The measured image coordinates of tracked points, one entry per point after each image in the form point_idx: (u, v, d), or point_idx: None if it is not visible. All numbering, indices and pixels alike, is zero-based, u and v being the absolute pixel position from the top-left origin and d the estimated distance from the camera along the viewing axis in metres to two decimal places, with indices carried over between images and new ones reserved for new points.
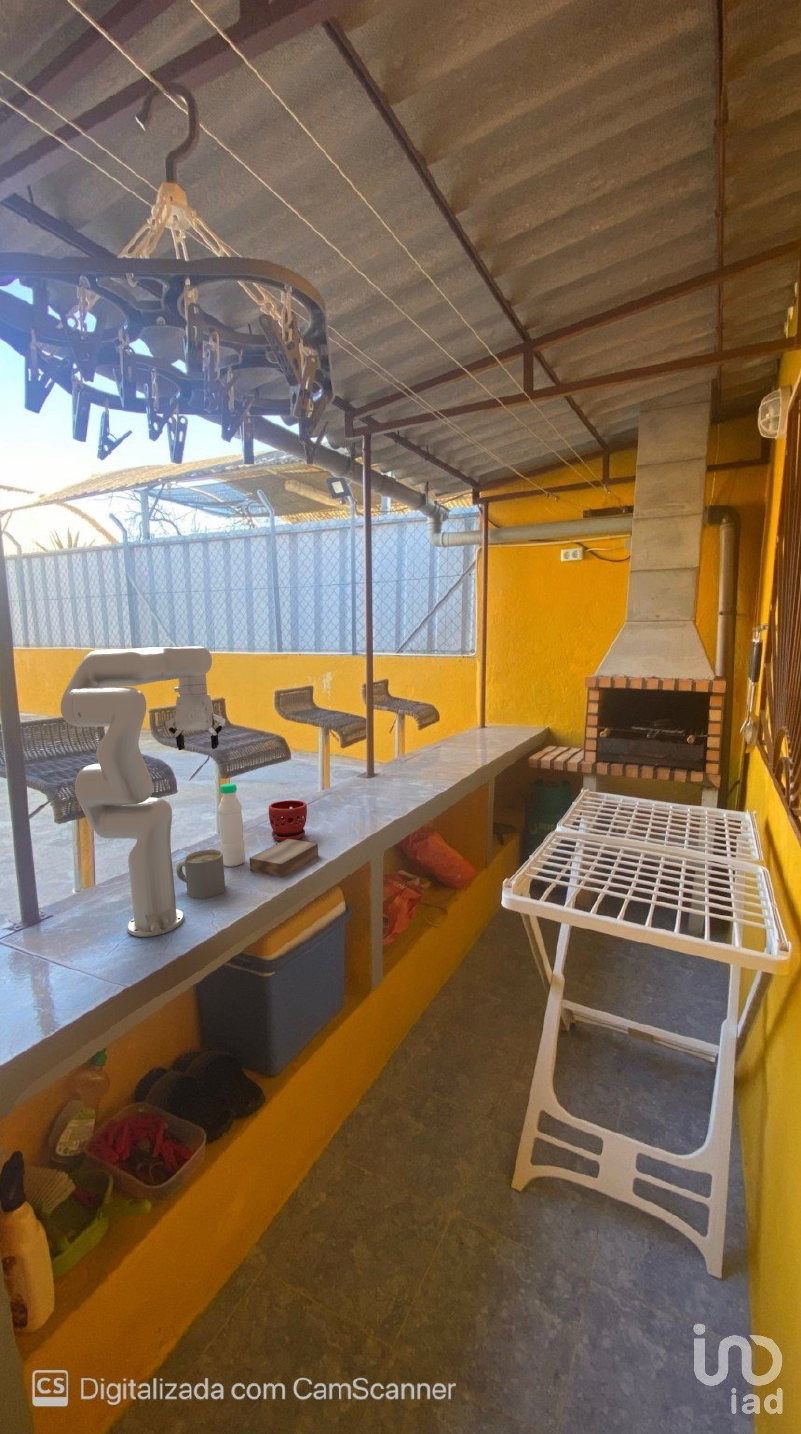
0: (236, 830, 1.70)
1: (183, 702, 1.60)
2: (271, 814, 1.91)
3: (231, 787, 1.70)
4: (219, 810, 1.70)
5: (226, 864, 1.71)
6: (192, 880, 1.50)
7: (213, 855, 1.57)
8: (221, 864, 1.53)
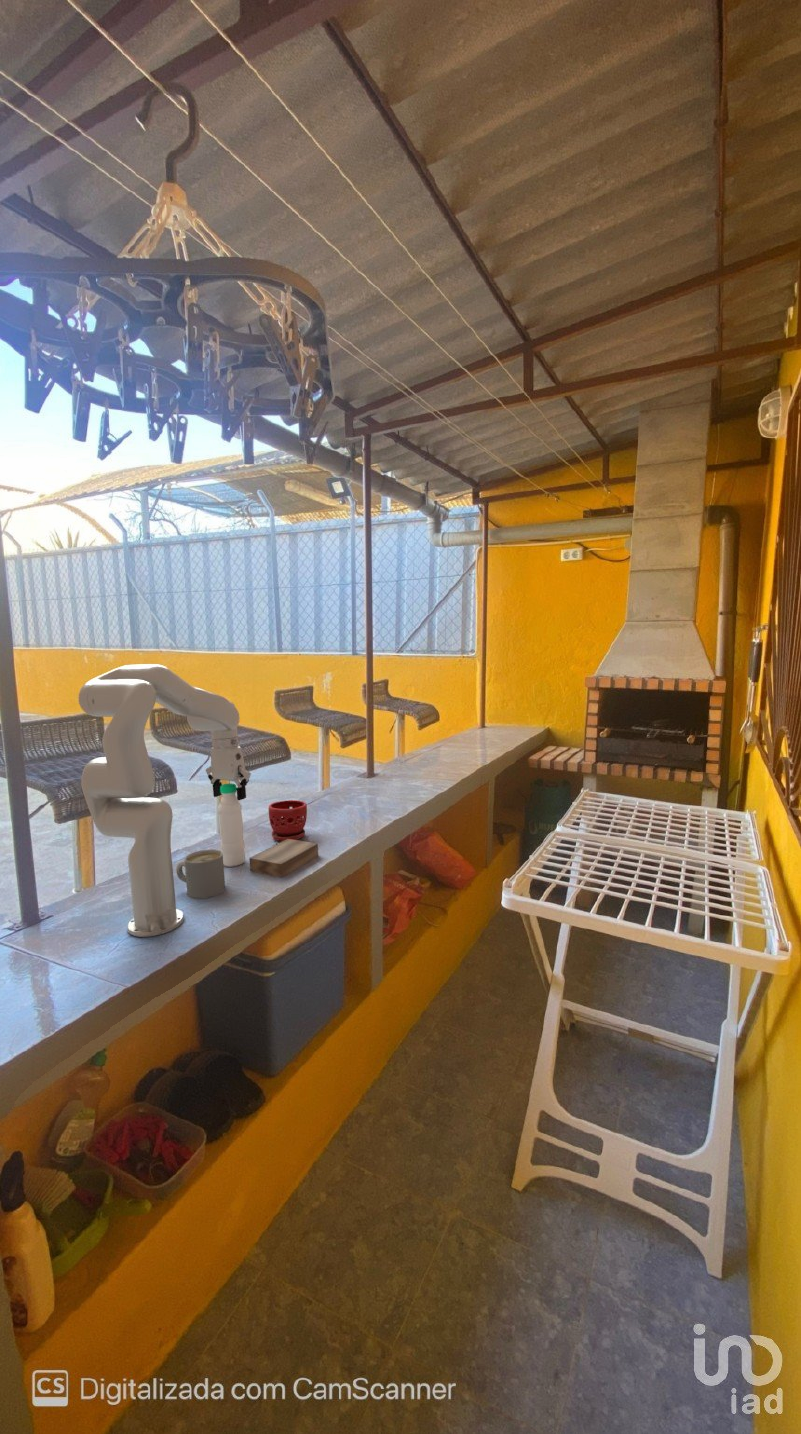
0: (236, 830, 1.70)
1: None
2: (271, 814, 1.91)
3: (231, 787, 1.70)
4: (219, 810, 1.70)
5: (226, 864, 1.71)
6: (192, 880, 1.50)
7: (213, 855, 1.57)
8: (221, 864, 1.53)
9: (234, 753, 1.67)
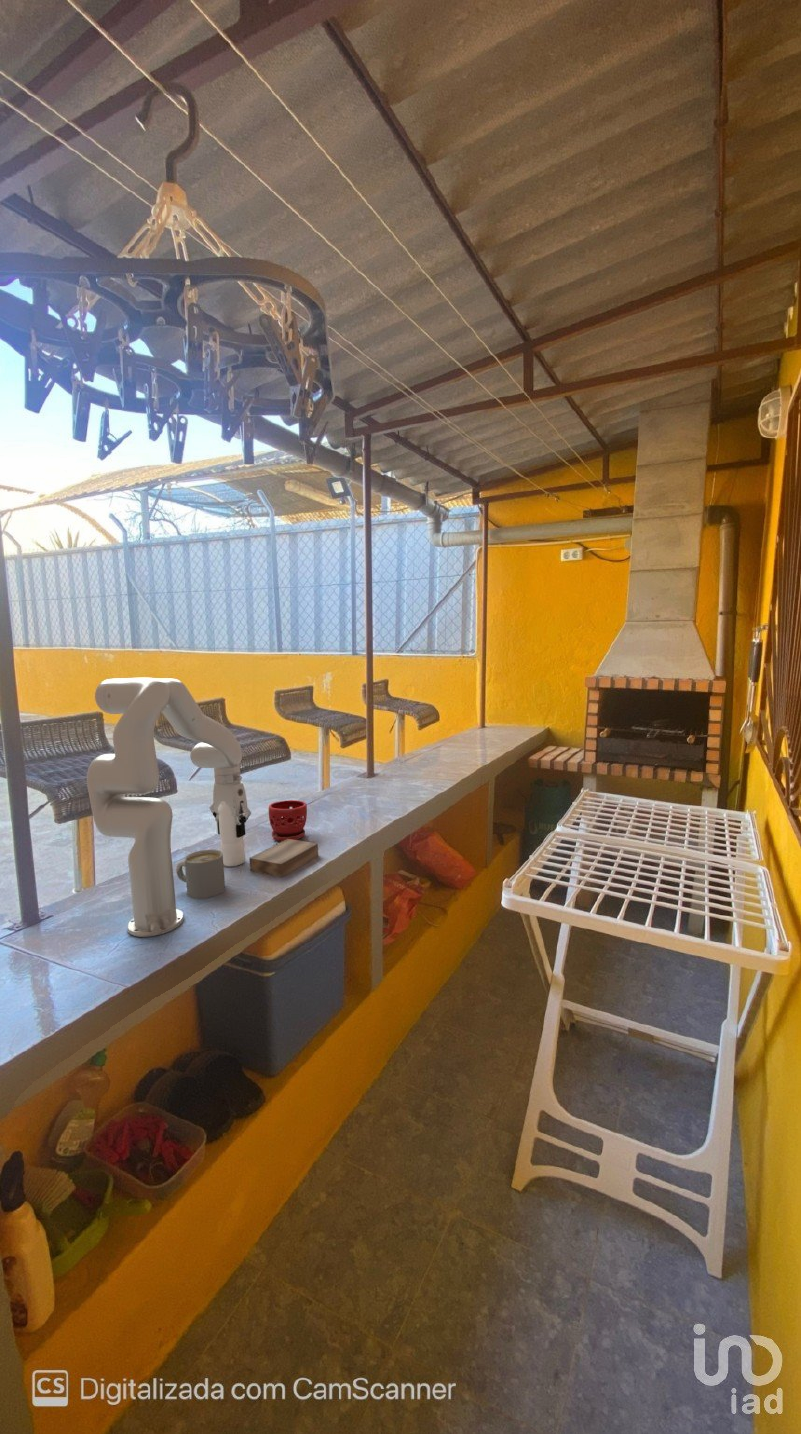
0: None
1: None
2: (271, 814, 1.91)
3: None
4: (219, 810, 1.70)
5: (226, 864, 1.71)
6: (192, 880, 1.50)
7: (213, 855, 1.57)
8: (221, 864, 1.53)
9: (236, 789, 1.68)
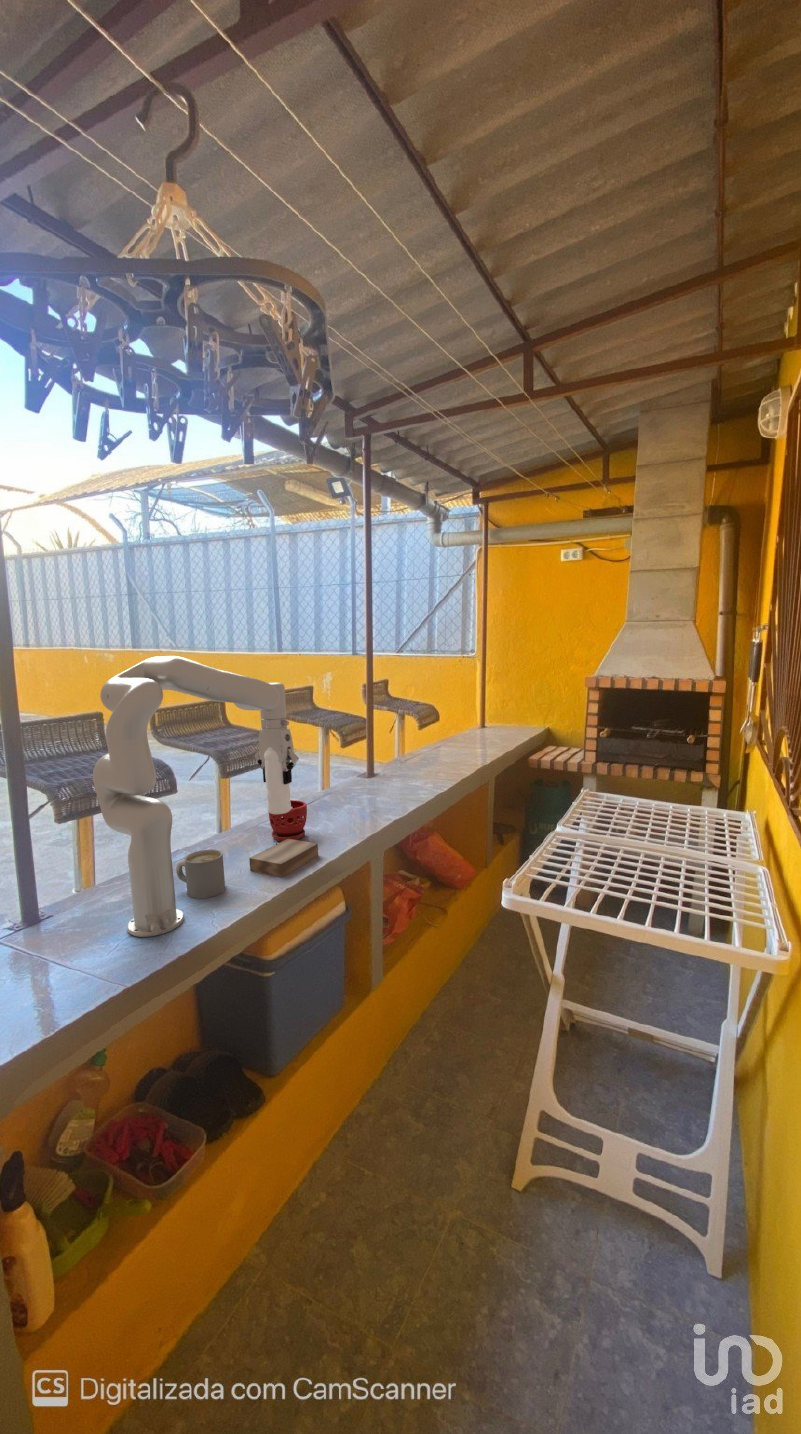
0: None
1: None
2: (271, 814, 1.91)
3: None
4: (265, 756, 1.66)
5: (272, 812, 1.67)
6: (192, 880, 1.50)
7: (213, 855, 1.57)
8: (221, 864, 1.53)
9: (284, 734, 1.65)
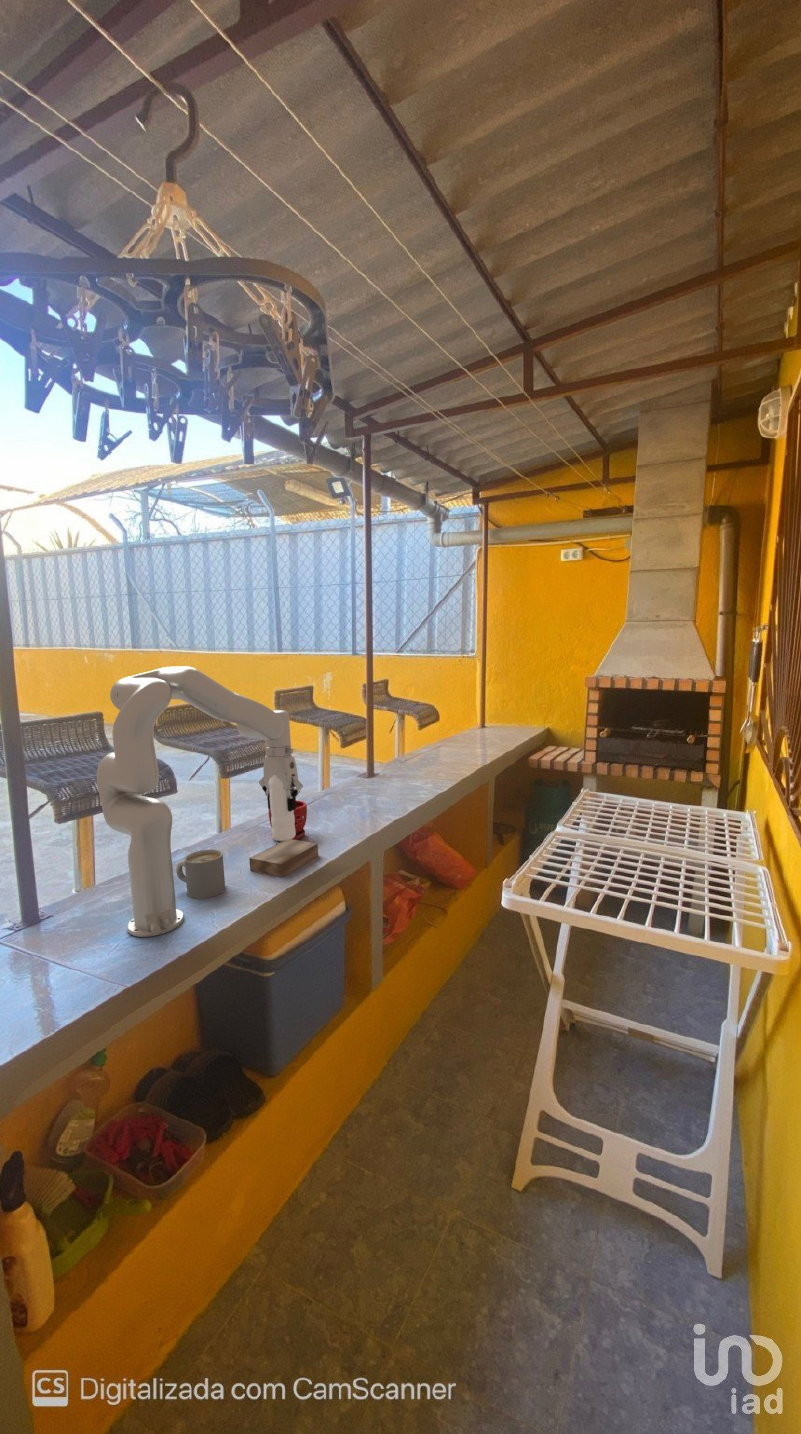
0: None
1: None
2: None
3: None
4: (270, 783, 1.67)
5: (277, 838, 1.69)
6: (192, 880, 1.50)
7: (213, 855, 1.57)
8: (221, 864, 1.53)
9: (288, 762, 1.66)
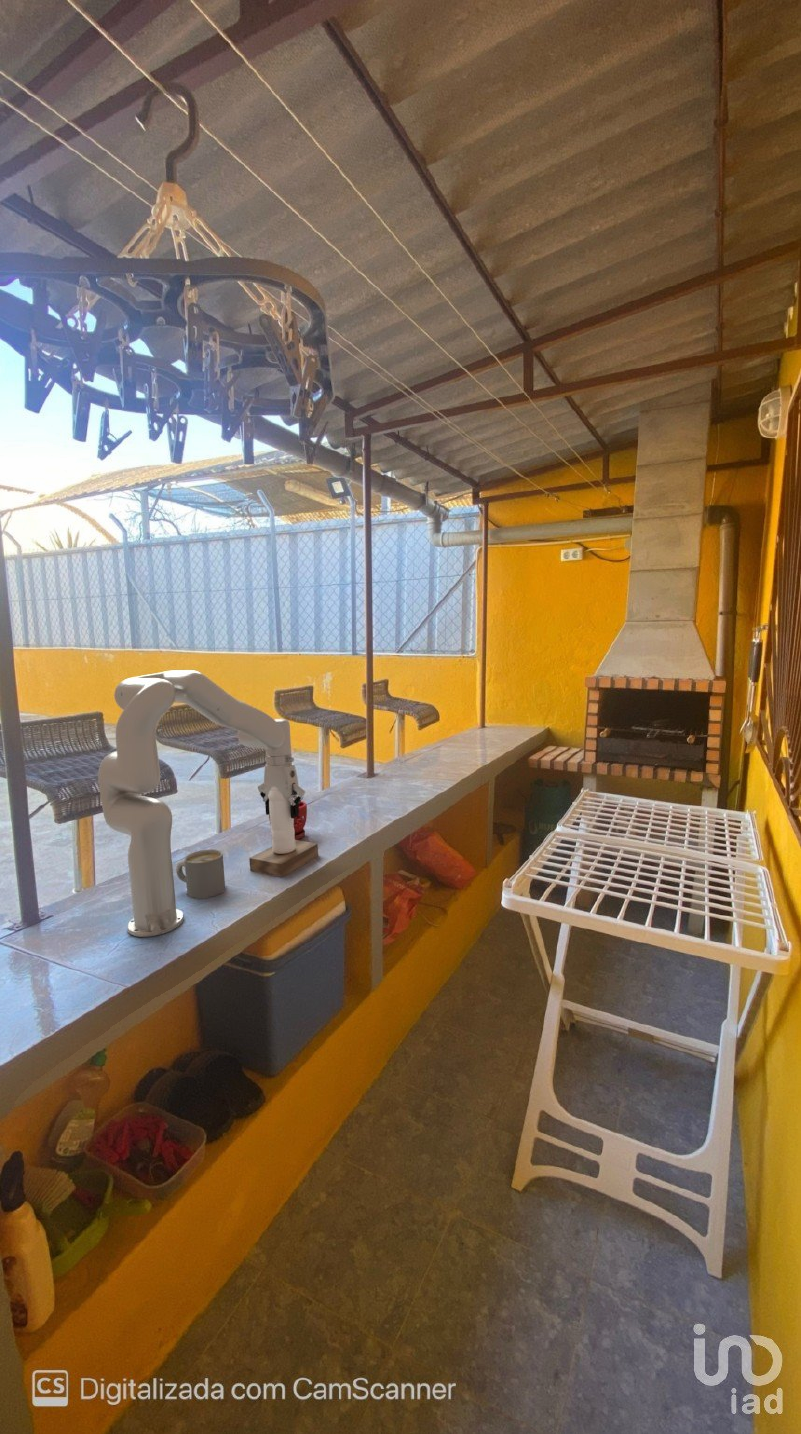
0: (287, 817, 1.68)
1: None
2: None
3: None
4: (270, 796, 1.68)
5: (277, 851, 1.69)
6: (192, 880, 1.50)
7: (213, 855, 1.57)
8: (221, 864, 1.53)
9: (289, 770, 1.66)
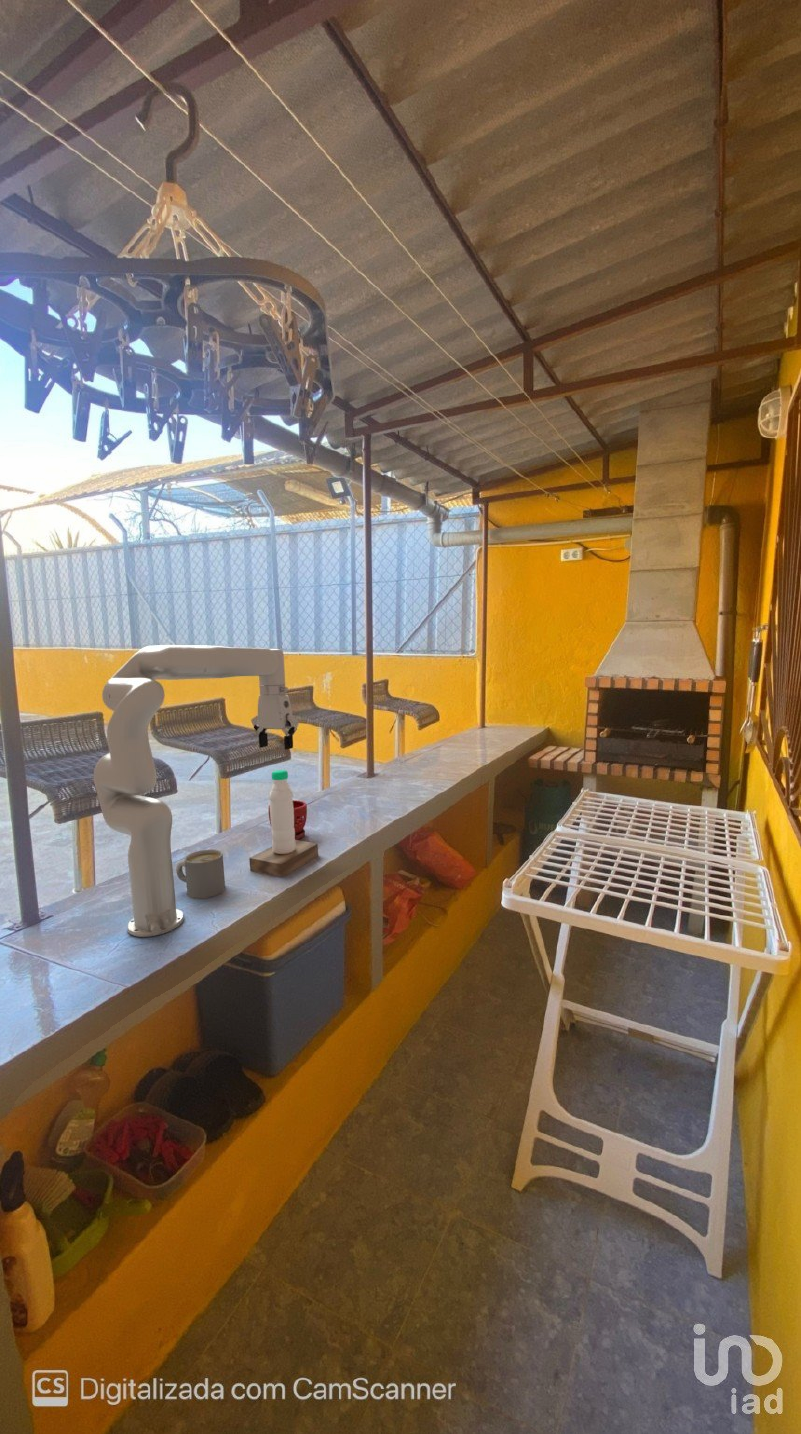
0: (288, 817, 1.68)
1: None
2: None
3: (283, 773, 1.67)
4: (271, 797, 1.67)
5: (277, 852, 1.69)
6: (192, 880, 1.50)
7: (213, 855, 1.57)
8: (221, 864, 1.53)
9: (282, 700, 1.63)
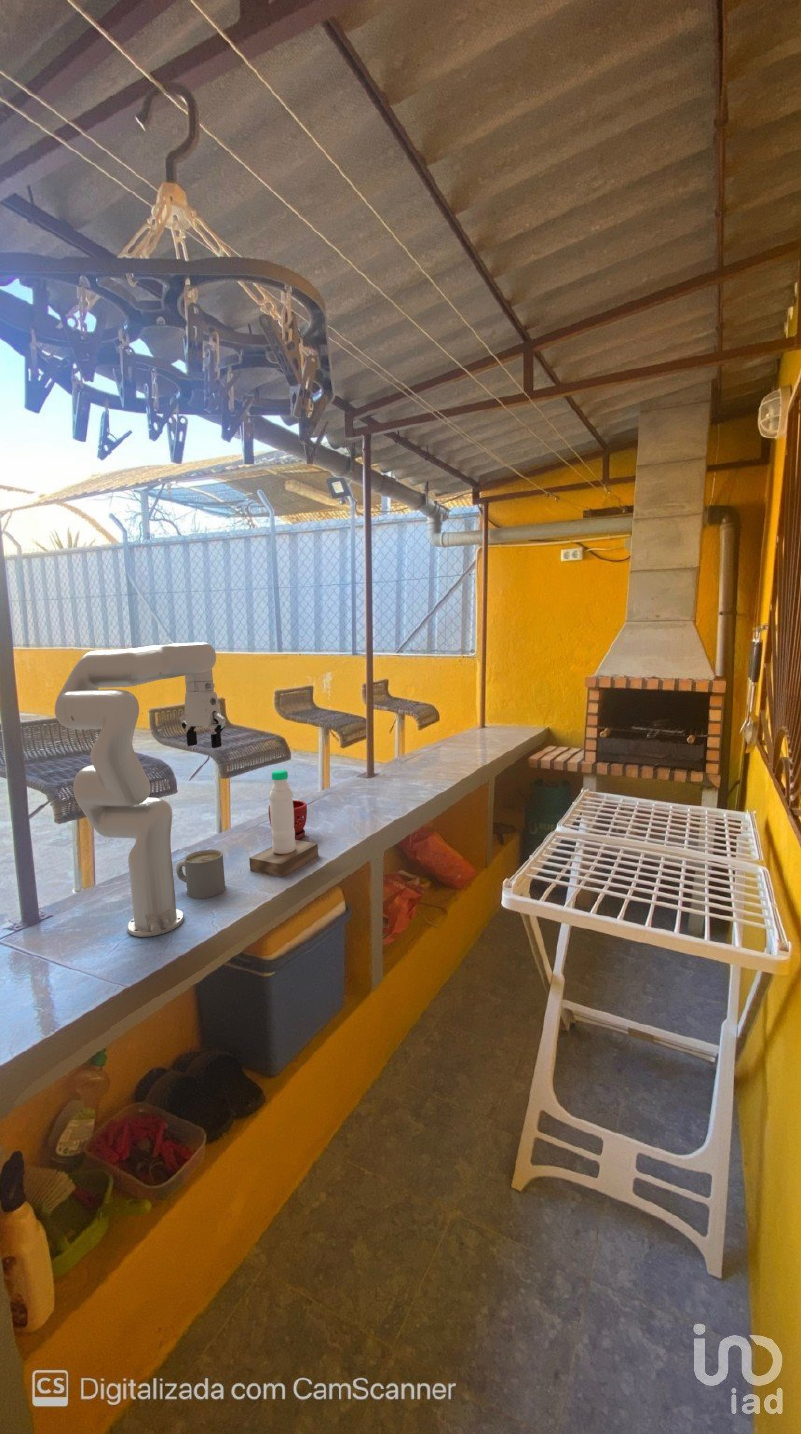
0: (288, 817, 1.68)
1: None
2: None
3: (283, 774, 1.67)
4: (271, 797, 1.67)
5: (277, 852, 1.69)
6: (192, 880, 1.50)
7: (213, 855, 1.57)
8: (221, 864, 1.53)
9: (209, 697, 1.57)
